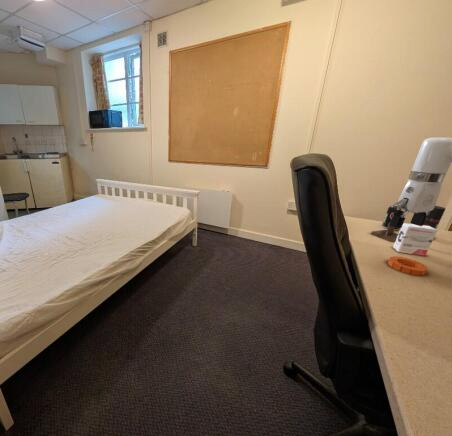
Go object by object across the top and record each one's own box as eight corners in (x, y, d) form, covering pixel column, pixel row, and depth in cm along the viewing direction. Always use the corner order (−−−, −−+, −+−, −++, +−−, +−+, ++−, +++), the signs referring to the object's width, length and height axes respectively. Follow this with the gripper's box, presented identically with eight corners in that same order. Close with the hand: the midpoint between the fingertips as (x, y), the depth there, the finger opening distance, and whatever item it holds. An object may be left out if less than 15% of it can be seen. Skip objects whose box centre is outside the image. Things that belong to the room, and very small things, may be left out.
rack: (406, 240, 103) (415, 219, 99) (391, 241, 101) (400, 220, 98) (384, 232, 111) (392, 213, 108) (370, 234, 110) (377, 214, 106)
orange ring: (432, 273, 78) (434, 268, 78) (412, 276, 76) (414, 271, 76) (400, 259, 87) (402, 255, 86) (381, 262, 85) (382, 257, 84)
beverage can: (379, 227, 117) (388, 206, 113) (382, 225, 121) (390, 204, 116) (397, 231, 112) (406, 209, 108) (399, 228, 116) (408, 207, 111)
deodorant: (413, 232, 111) (426, 204, 106) (431, 236, 107) (445, 207, 101) (412, 236, 107) (425, 206, 102) (431, 240, 103) (445, 209, 98)
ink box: (418, 250, 93) (430, 225, 89) (425, 256, 89) (438, 229, 85) (392, 247, 97) (402, 222, 93) (398, 252, 92) (409, 226, 88)
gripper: (420, 180, 66) (399, 232, 72) (461, 178, 70) (437, 227, 76) (391, 176, 73) (374, 223, 79) (430, 174, 77) (410, 220, 83)
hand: (405, 225), depth 78 cm, fingers open, 9 cm apart
